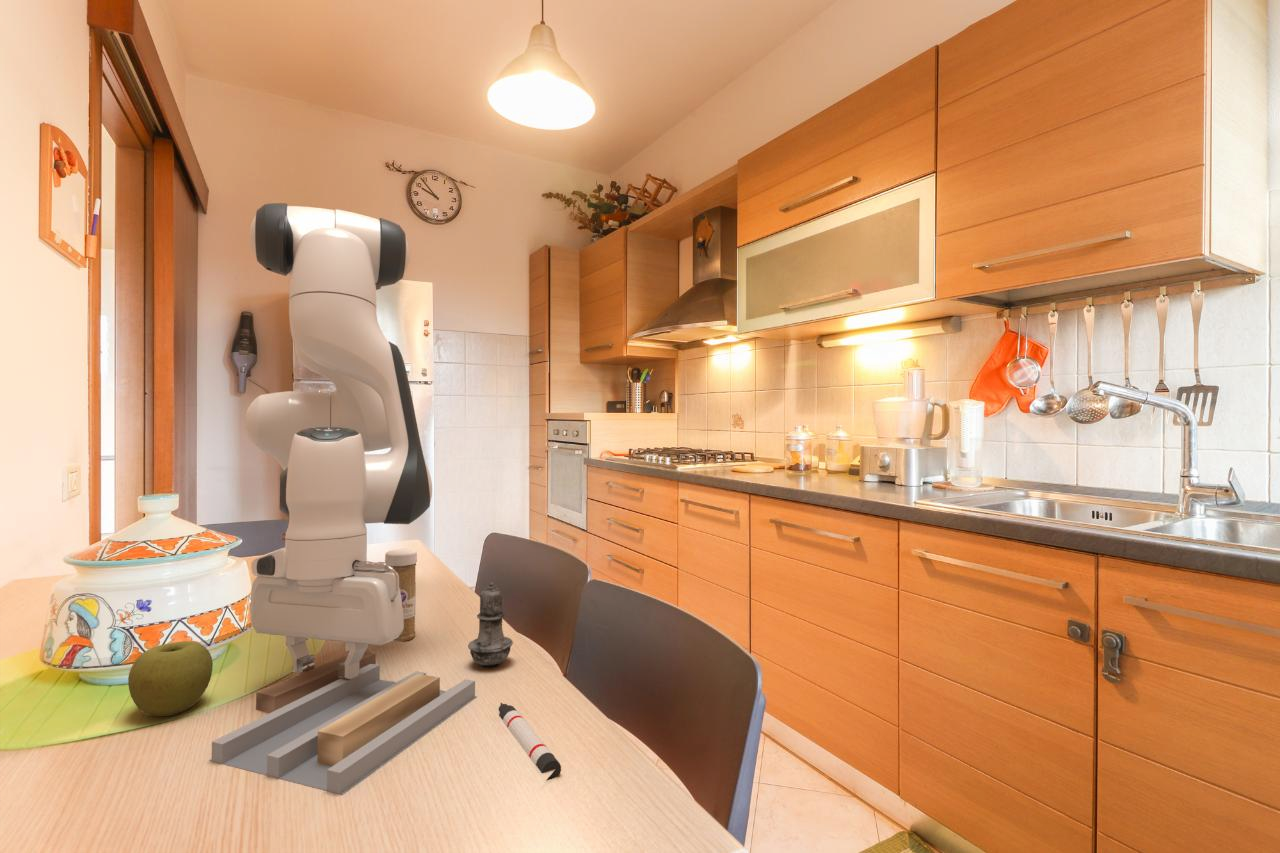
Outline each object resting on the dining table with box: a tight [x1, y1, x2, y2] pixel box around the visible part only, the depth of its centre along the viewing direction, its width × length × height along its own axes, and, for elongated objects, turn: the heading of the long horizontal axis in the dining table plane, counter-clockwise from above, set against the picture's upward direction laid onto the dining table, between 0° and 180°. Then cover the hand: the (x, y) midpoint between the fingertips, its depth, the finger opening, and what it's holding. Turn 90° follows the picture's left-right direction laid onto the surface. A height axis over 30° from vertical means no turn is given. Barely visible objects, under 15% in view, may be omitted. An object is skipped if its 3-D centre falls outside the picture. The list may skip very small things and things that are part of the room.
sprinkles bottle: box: [384, 548, 418, 642], centre depth 92 cm, size 5×5×14 cm
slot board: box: [208, 663, 478, 796], centre depth 63 cm, size 16×20×3 cm
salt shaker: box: [467, 580, 514, 669], centre depth 80 cm, size 6×6×12 cm
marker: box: [498, 702, 562, 782], centre depth 61 cm, size 15×2×2 cm, turn 31°
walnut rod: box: [255, 650, 377, 714], centre depth 72 cm, size 3×14×3 cm, turn 158°
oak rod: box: [317, 674, 441, 767], centre depth 62 cm, size 3×14×3 cm, turn 161°
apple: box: [127, 640, 214, 717], centre depth 68 cm, size 8×8×7 cm
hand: (325, 674), depth 72 cm, fingers open, 5 cm apart
